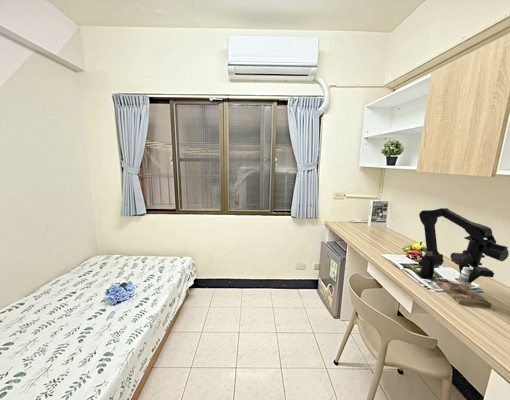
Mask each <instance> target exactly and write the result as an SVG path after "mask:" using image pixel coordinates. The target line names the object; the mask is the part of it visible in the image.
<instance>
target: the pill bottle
mask: <svg viewBox="0 0 510 400" xmlns="http://www.w3.org/2000/svg"><path fill="white" fill-rule="evenodd" d="M469 270H473V268H472V267H469V268H468V267H463V270H462V271H461V273H460V272H459V277H458V281H457V282H458V284H462V285H465V286H468V287H471V286H472V283H473V282H471V283H470V282H468V280H469V275H470V272H469Z"/></svg>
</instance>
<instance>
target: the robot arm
mask: <svg viewBox="0 0 510 400" xmlns="http://www.w3.org/2000/svg"><path fill="white" fill-rule="evenodd" d="M418 217H419V219H420V222H421V224H422V225H423V229H424V236H425V237H424V238H425V239H424V240H425V248H426V251H425V253H424V254H423V259H422V260H418V266H419V267H420V270H419V271H416V273H417V274H418V275H419V276H420V277H421V278H422V279H426V280H427V279H428V280H435V277H434V274H435V273H434V272H435V269H438V268H439V267H441V266H442V265H443V263H444V262H445V261H444V255H443V253H440V252H439V251H438V243H437V242H438V241H437V233H436V224H437V222H438V218H441V217H443V218H444V219H446V220H448V221H450V222H451V223H454V224H455V225H457V226H458V227H460V228H462V229H463V230H464V231H465V232H466V233H467V234H468V236H465V237H464V240H467V241H468V244H467V247H466V249H463V251H462V252H452V253H450V260H451V262H453V263H454V264H455V265H458V269H459V274H460V273H461V271H462V270H463V267H468V268H472V269H473V270H469V272H470V275H469V280H468V282H470V283H471V282H472V283H473V282H474V281H475V280H477V279H479V278H480V277H487V278H494V275H495V273H494V271H493V270H491V269H489V268H487V267H483V266H482V265H483V263H482V262H481V260H482V258H483V259H485V257H489V258H490V259H491V258H492V259H494V260H496V261H499V262H505V260H507V259H508V257H509V255H510V254H509V250H508V248H509V247H508V246H506V245H502V244H498V243H497V240H496V239H495V237H494V235H493V230H492V228H491V227H489V226H486V225H484V224H481V223H477V222H474V221H471V220H469V219H467V218H465V217H463V216H461V215H460V214H457V213H456V212H454V211H452V210H450V209H449V208H446V207H441V208H437V209H430V210H429V209H427V210H426V209H425V210H422V211H420V212H419V214H418ZM472 283H471V284H472Z"/></svg>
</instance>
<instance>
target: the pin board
mask: <svg viewBox="0 0 510 400" xmlns="http://www.w3.org/2000/svg"><path fill="white" fill-rule="evenodd" d="M436 286H438V287H439V288H440V289H441V288H442V289H443V290H444V291H443V290H442V289H441V290H442V291H443V292H444V293H446V295H447V296H449V297H450V298H451V299H453V300H454V301H455V302H456V303H457V304H458V305H465V306H472V307H479V308H480V307H483V308H490V309H491V307H492V306H493V305H492V302H490V301H488V300H487V299H485V298H484V297H483V296H481V295H480V294H479V293H477V292H476V291H475V290H473V289H472V288H471V287H470V286H465V285H462V284H460V283H459V282H458V283H457V282H447V281H439V280H437V282H436Z"/></svg>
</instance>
